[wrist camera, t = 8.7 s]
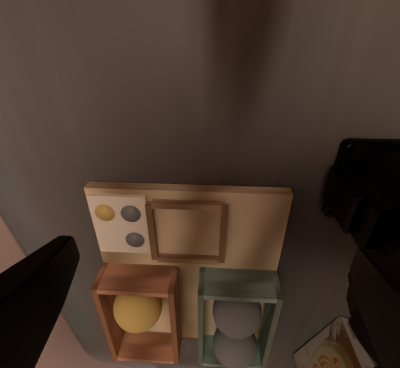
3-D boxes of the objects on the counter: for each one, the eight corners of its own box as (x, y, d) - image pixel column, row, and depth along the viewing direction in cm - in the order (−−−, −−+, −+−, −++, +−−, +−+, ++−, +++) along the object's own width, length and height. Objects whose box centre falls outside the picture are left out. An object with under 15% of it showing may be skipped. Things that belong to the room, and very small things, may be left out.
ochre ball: (164, 271, 26) (155, 315, 22) (167, 300, 28) (159, 344, 24) (118, 269, 26) (101, 312, 22) (125, 298, 28) (110, 341, 25)
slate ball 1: (261, 276, 25) (268, 321, 22) (256, 305, 28) (261, 351, 24) (213, 273, 26) (212, 318, 22) (212, 303, 28) (211, 348, 24)
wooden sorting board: (290, 187, 21) (304, 220, 18) (260, 332, 32) (265, 371, 28) (88, 181, 22) (65, 211, 19) (124, 325, 33) (113, 361, 29)
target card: (145, 195, 21) (144, 198, 21) (152, 251, 24) (151, 254, 24) (87, 193, 21) (85, 196, 21) (101, 248, 25) (100, 252, 24)
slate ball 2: (255, 309, 28) (263, 355, 24) (250, 333, 31) (258, 378, 27) (212, 310, 28) (214, 355, 24) (211, 334, 30) (213, 378, 27)
